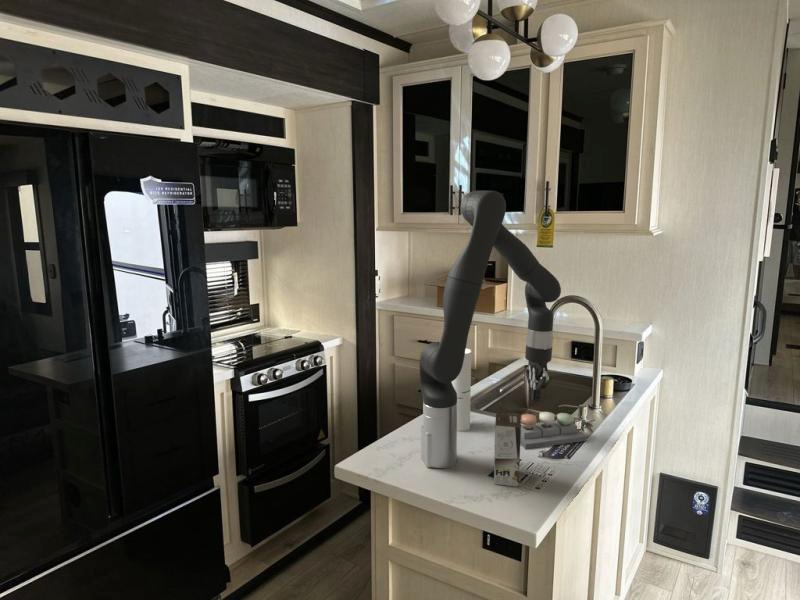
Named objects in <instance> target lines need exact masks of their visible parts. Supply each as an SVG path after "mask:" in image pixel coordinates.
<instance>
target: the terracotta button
mask: <svg viewBox="0 0 800 600" xmlns="http://www.w3.org/2000/svg"><path fill="white" fill-rule="evenodd" d="M520 420H521V425H523V424H524V425H526V427H525V428H526V429H531V428H532V425H535V424H536V423H537V416H536V415H535V414H532V413H531V414H530V413H523V414H522V415H520Z"/></svg>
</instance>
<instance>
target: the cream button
mask: <svg viewBox="0 0 800 600" xmlns="http://www.w3.org/2000/svg"><path fill="white" fill-rule="evenodd" d="M555 416H556V415H555V414H554V413H553V412H550V411H541V412H539V416H538V417H539V419H538V420H539V421H540V422H543V423H544V426H545V427H549V426H550V423H553V422H554V421H555Z"/></svg>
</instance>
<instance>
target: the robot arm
mask: <svg viewBox="0 0 800 600" xmlns="http://www.w3.org/2000/svg"><path fill="white" fill-rule="evenodd" d="M506 204H507V203H506V200H505V197H504V196H503V194H501V193H500V192H498V191H497V190H496V191H495V190H473V191H470V192H468V193H467V194H465V196H464V197H463V198H462V200H461V204H460V212H461V213H460V214H461V215H462V217H463V219H464V220H465V221H466V223H468V224H469V225H470V226H471V227H472V228H471V232H470V235H469V239H468V241H467V243H466V245H465V246H464V248H463V250H462V251H461V253H460V254H459V255H458V256H457V258H456V260H455V261H454V262H453V264H452V265H451V267H450V269H449V272H448V275H447V278H446V282H445V285H444V290H443V295H442V296H443V297H442V304H443V305H442V308H443V310H442V311H443V321H444V322H443V331H442V333H441V334H442V335H441V338H440V341H439V342H438V341H434V342H431V343H429V344H426V345H425V347H424V348H423V349H422V351H421V353H420V357H419V386H420V392H421V395H422V415H423V416H422V425H421V426H420V459H421V460H422V461H423V463H424V465H425V466H426V468H434V469H435V468H436V469H447V468H450V467H452V466H455V465H456V463H457V457H458V453H457V452H458V451H457V449H458V448H457V446H458V444H457V443H458V439H457V437H458V436H457V435H458V433H457V432H458V431H457V393H456V391H455V389H454V387H453V385H452V381H454V380H455V379H456V378H457V377H458V375H459V374H460V372H461V369H462V366H463V361H464V356H465V350H466V348H467V343H468V338H469V333H470V328H471V325H472V321H473V319H474V314H475V309H476V306H477V304H478V300H479V297H480V294H481V289H482V287H483V286H482V285H483V283H484V278H485V275H486V272H487V268H488V264H489V260H490V258H491V255H492V254H491V253H492V251H493V248H494V249H495V250H496V252H498V253H499V255H500V256H501V257H502V258H503V260H505V262H506V263H507V265H508V266H509V267H510V269H511V270H512V271H513V272H514V274H515V275H516V276H517V278H518V279H520V280H522V281H523V282H524V283H525V286H524V297H525V301H526V302H525V303H526V308H527V313H528V319H527V332H526V339H525V340H526V341H525V356H524V357H525V360H526V361H528V364H525V365H524V366H523V368H524V372H525V376H526V380H527V383H528V384H529V385H530V388H531V394H530V400H531V401H533V402H540V401H541V393H542V391H541V390H546V389H547V387H548V385H549V384H550V383H551V380H552V376H551V375H549V373H548V363H550V362H551V361H552V356H553V342H554V336H553V334H554V333H553V332H554V331H553V330H554V329H553V328H554V312H553V311H552V310H551V309H550V308H548V307H547V303H553V302H555V301H557V300H558V299H559V298H560V296H561V293H562V287H561V284H560V282H559V280H558V279H557V278H556V276H554V274H552V273H551V272H550V270H548V269H547V268H546V267H545V266H543V265H542V264H541V263H540V262H539V260H538V259H537V258H536V256H535V255H534V254H533V252H532V251H531V249H529V247H528V246H527V245H526V244H525V243H524V242H523V241H522V240H521V239H519V238H518V237H517V236H516V235H514V234H513V233H512V232H511V231H510V230H508V229H507V228H506V227H505V225H503V222H504V219H505V216H506V212H507V210H506V209H507V205H506Z"/></svg>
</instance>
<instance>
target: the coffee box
mask: <svg viewBox="0 0 800 600" xmlns="http://www.w3.org/2000/svg"><path fill="white" fill-rule="evenodd" d="M521 425H522V423H521V414H520V413H516V412H496V413H495V427H494V429H495V430H494V463H493V464H494V465H493V468H494V469H493V470H494V471H493V474H494V475H493V484H494V485H501V486H510V487H519V484H520V483H519V481H520V479H519V478H520V465H521V464H520V463H521V462H520V461H521V460H520V458H521V445H520V440H521Z"/></svg>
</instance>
